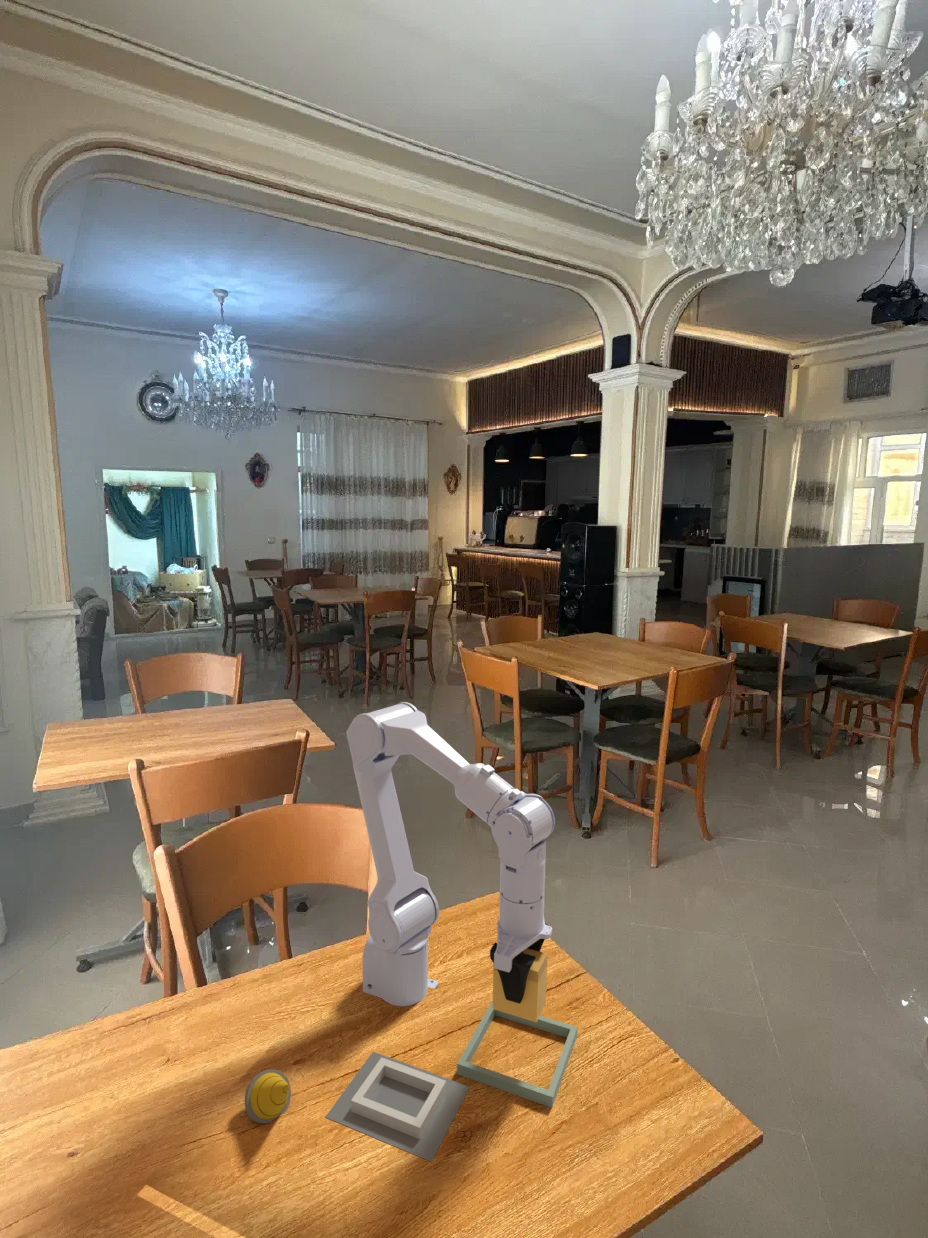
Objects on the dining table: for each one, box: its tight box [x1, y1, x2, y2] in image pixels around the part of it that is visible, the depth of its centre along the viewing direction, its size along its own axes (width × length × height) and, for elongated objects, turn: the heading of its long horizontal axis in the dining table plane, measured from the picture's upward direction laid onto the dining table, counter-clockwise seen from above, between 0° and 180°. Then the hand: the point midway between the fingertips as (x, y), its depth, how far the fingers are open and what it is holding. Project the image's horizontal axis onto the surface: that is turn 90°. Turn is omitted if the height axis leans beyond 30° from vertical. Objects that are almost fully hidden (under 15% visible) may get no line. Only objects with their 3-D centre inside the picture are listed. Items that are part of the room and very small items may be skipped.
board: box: [324, 1051, 470, 1163], centre depth 82 cm, size 14×11×2 cm
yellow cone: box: [244, 1068, 292, 1125], centre depth 80 cm, size 5×5×10 cm
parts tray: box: [456, 1000, 578, 1109], centre depth 90 cm, size 13×13×2 cm
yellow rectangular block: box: [492, 948, 548, 1022], centre depth 88 cm, size 6×4×7 cm, turn 67°
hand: (519, 989), depth 88 cm, fingers closed on yellow rectangular block, 4 cm apart
